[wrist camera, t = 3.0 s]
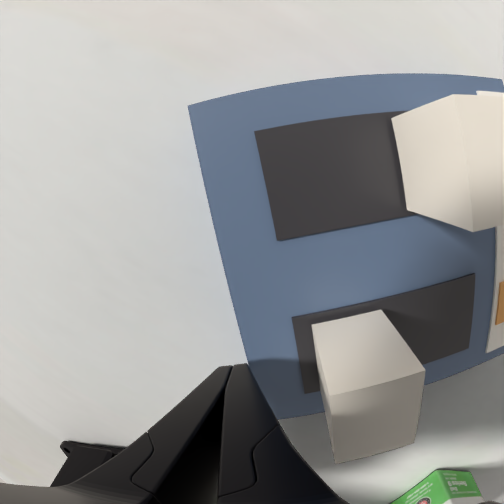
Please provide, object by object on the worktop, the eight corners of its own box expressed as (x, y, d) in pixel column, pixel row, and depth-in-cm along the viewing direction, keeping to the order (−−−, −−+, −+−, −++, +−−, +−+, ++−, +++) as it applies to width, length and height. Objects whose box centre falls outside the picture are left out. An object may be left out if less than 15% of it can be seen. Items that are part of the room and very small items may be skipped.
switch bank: (485, 329, 10) (511, 352, 8) (265, 386, 11) (264, 424, 9) (471, 89, 8) (504, 78, 6) (203, 118, 9) (185, 104, 7)
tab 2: (464, 199, 7) (536, 216, 4) (406, 210, 7) (472, 232, 4) (451, 115, 7) (522, 98, 4) (391, 118, 7) (453, 94, 4)
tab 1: (382, 376, 9) (413, 443, 6) (320, 390, 9) (335, 464, 6) (381, 309, 8) (425, 369, 5) (311, 324, 8) (329, 395, 5)
